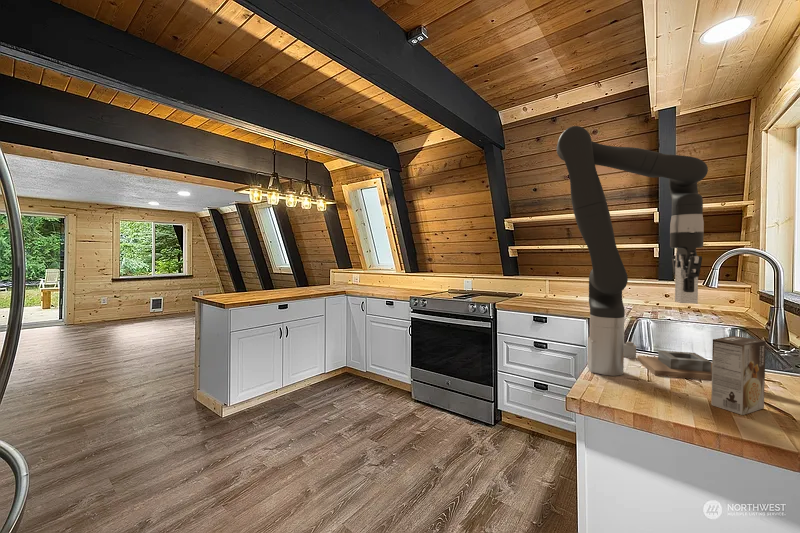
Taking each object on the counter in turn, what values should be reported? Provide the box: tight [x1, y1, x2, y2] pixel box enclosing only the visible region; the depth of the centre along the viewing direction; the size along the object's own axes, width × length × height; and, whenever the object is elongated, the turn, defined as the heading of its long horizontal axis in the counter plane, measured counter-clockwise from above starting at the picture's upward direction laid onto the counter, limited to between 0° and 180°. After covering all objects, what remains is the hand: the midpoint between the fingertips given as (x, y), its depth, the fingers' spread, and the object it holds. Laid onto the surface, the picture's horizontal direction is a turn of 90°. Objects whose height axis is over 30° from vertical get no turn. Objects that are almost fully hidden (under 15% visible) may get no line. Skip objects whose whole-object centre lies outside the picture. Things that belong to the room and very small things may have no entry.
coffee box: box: [710, 335, 767, 416], centre depth 86 cm, size 9×6×16 cm
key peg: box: [674, 267, 699, 305], centre depth 105 cm, size 4×4×10 cm
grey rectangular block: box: [624, 341, 637, 359], centre depth 129 cm, size 7×2×8 cm, turn 55°
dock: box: [636, 349, 712, 381], centre depth 114 cm, size 20×16×4 cm
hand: (685, 291), depth 105 cm, fingers closed on key peg, 4 cm apart
